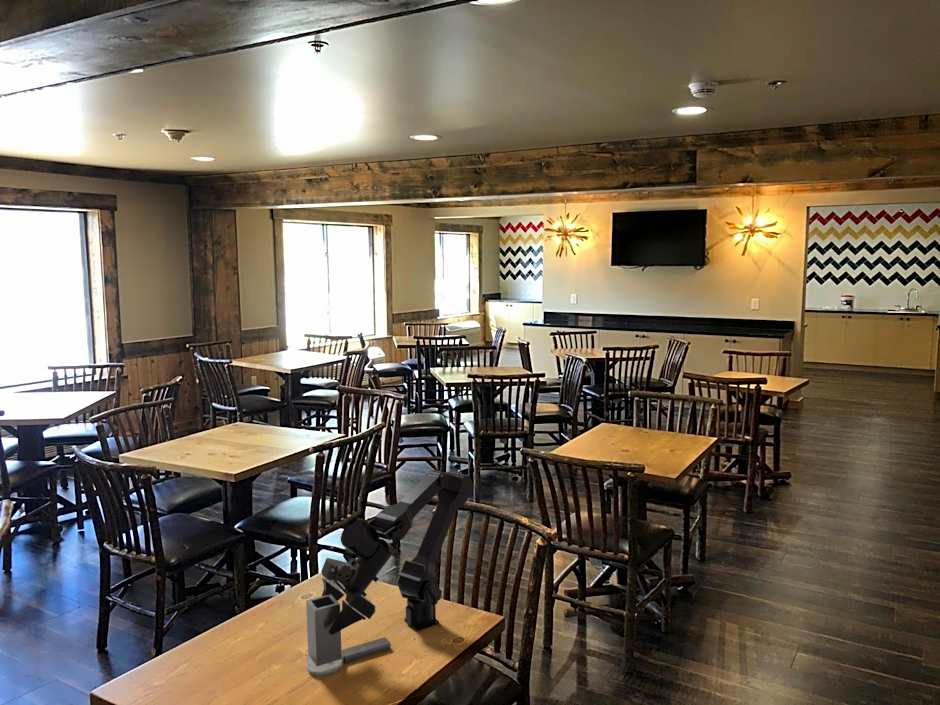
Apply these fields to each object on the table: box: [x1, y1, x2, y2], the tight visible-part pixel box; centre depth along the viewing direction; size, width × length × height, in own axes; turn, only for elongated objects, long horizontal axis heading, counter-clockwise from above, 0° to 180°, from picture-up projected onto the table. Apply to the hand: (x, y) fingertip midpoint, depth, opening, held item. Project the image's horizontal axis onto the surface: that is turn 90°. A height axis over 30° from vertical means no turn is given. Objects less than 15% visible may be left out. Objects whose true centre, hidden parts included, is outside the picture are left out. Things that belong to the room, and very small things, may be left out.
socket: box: [305, 594, 342, 666], centre depth 154 cm, size 6×6×12 cm
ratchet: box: [305, 636, 392, 677], centre depth 157 cm, size 19×8×4 cm, turn 121°
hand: (322, 624), depth 154 cm, fingers open, 9 cm apart
